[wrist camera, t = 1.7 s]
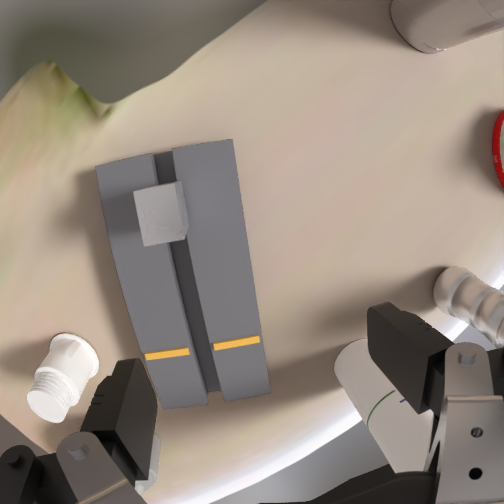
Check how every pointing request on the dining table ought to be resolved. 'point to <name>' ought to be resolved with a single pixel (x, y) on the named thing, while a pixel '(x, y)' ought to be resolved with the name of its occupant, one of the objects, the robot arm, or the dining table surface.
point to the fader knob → (162, 213)
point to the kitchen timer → (499, 147)
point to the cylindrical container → (384, 409)
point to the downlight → (62, 377)
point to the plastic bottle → (471, 302)
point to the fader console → (189, 276)
